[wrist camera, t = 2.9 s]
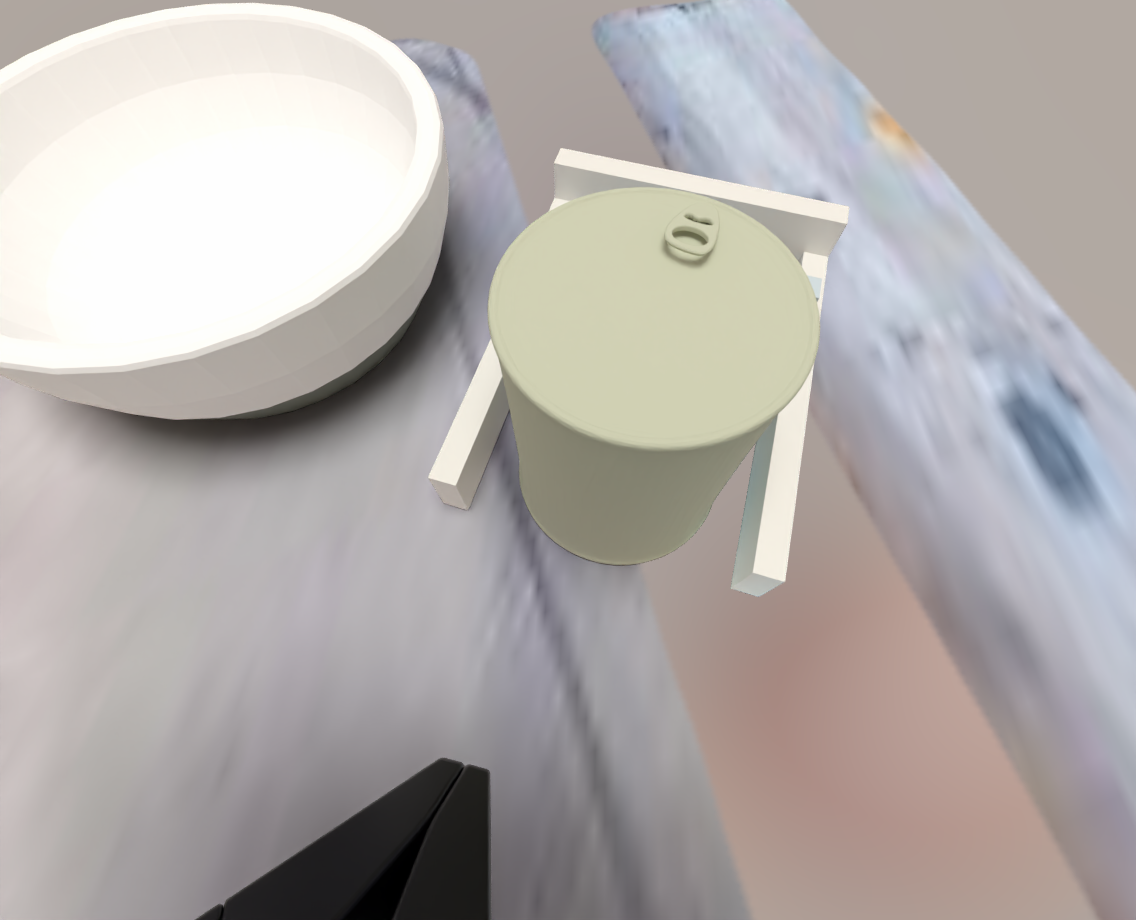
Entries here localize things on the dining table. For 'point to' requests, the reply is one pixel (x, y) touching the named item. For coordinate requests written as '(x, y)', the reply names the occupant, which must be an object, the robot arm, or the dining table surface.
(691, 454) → the can
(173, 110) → the bowl
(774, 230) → the white angular bar frame
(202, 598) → the dining table surface
